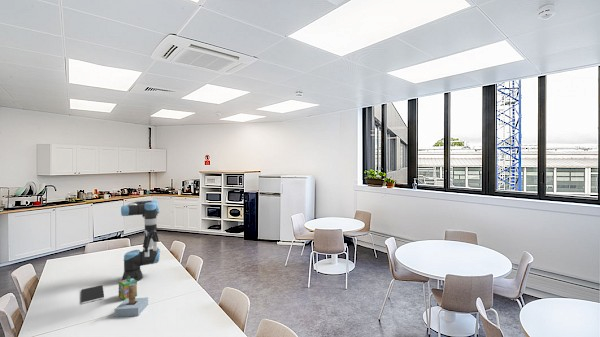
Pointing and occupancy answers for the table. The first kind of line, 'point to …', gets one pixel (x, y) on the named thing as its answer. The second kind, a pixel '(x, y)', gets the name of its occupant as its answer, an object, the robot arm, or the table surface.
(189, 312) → the table surface
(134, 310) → the socket block
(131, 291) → the dowel
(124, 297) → the chalk box
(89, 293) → the smartphone
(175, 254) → the table surface
